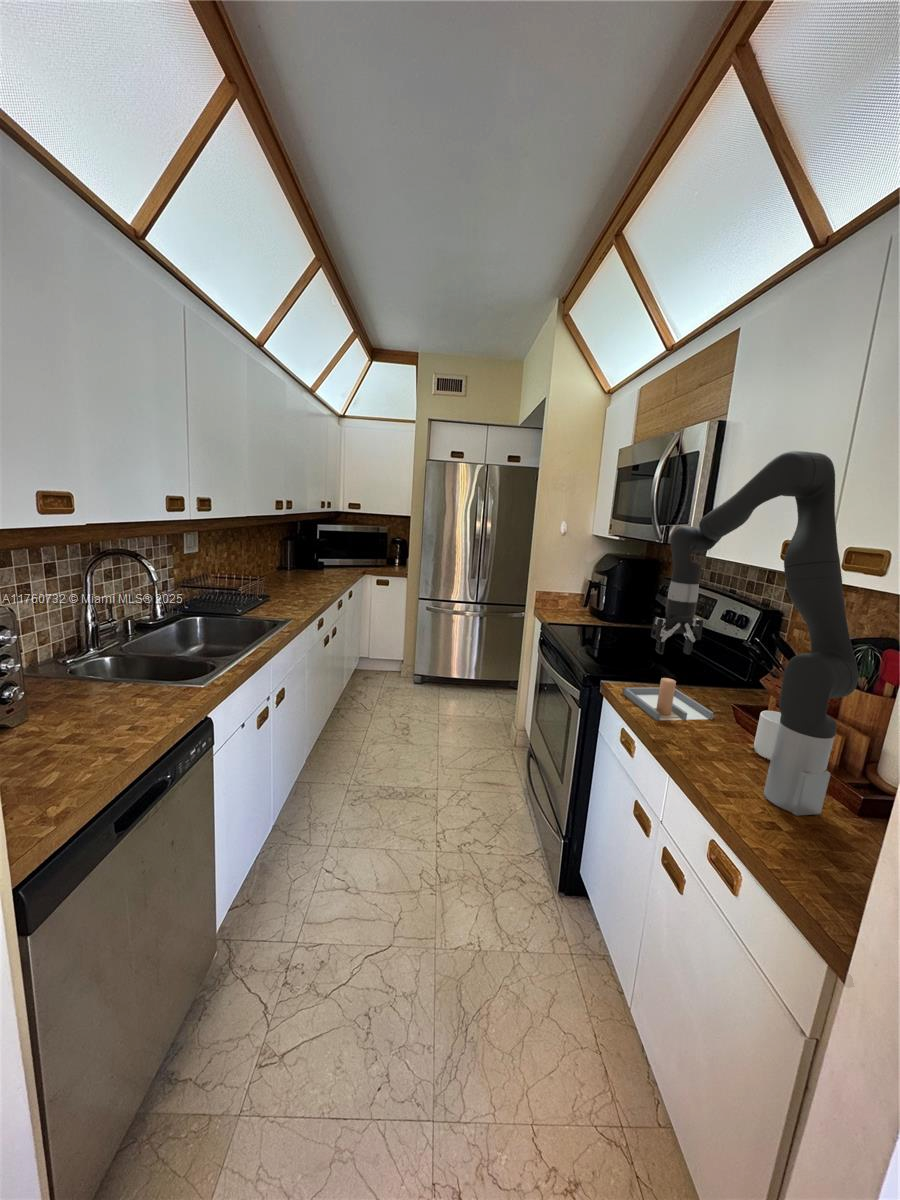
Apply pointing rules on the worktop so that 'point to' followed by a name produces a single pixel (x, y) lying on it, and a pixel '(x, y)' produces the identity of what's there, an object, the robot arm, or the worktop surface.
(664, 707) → the peg
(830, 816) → the worktop surface
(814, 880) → the worktop surface
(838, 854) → the worktop surface
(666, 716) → the pad
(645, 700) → the grey shallow tray
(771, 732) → the cup
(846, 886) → the worktop surface
